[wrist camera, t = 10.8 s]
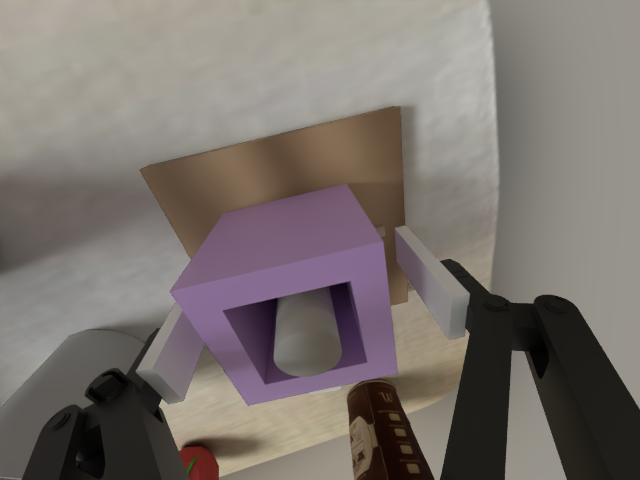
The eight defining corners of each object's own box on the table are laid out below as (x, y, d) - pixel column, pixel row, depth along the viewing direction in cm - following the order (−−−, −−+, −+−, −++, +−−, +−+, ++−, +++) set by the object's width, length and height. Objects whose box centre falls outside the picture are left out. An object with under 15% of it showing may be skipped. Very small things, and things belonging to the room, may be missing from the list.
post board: (240, 330, 24) (210, 465, 15) (149, 165, 16) (-33, 246, 7) (402, 292, 23) (470, 408, 15) (392, 106, 16) (527, 111, 7)
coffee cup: (338, 415, 33) (362, 575, 22) (332, 380, 29) (357, 554, 18) (401, 404, 34) (456, 556, 22) (403, 368, 30) (473, 532, 18)
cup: (177, 364, 25) (117, 501, 17) (119, 394, 27) (36, 534, 18) (102, 315, 21) (-29, 462, 13) (38, 354, 23) (-118, 509, 14)
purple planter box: (223, 213, 17) (169, 291, 10) (346, 183, 16) (383, 241, 9) (269, 314, 21) (255, 416, 14) (365, 292, 21) (399, 385, 14)
